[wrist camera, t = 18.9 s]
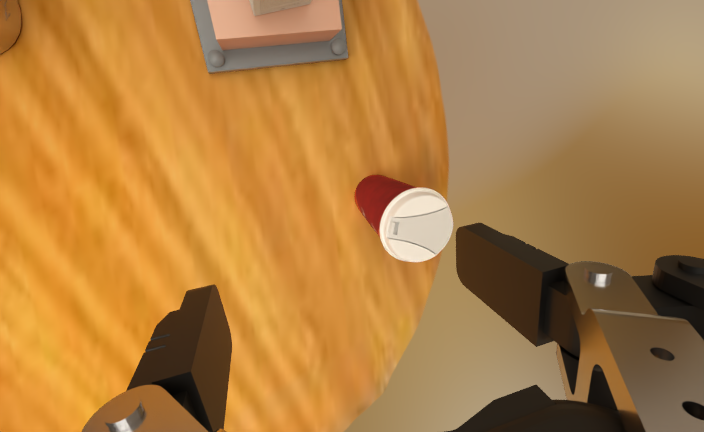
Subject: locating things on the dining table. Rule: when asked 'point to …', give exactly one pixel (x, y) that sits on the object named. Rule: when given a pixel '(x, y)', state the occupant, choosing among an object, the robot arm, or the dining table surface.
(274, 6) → the small box
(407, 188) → the coffee cup
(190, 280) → the dining table surface
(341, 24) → the tower base
